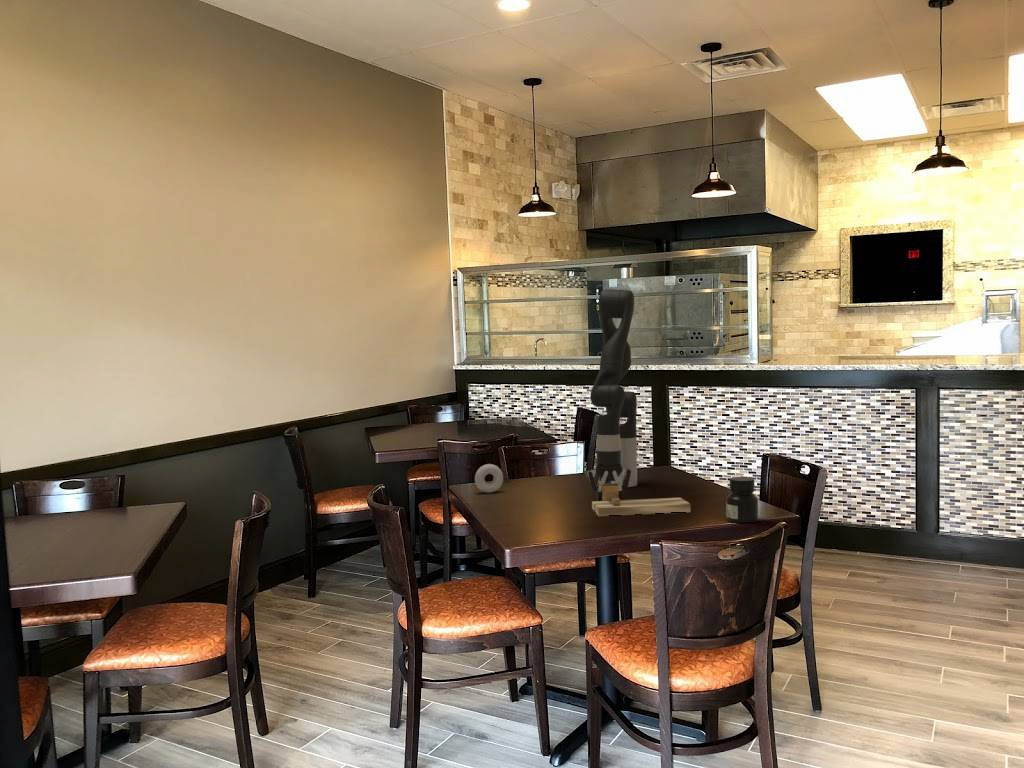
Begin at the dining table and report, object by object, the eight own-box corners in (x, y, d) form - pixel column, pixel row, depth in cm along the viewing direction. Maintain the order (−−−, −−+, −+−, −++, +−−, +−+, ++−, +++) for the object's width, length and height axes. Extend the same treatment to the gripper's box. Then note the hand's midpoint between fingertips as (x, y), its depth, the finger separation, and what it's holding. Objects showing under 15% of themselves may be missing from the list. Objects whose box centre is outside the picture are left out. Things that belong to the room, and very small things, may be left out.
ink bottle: (725, 516, 251) (724, 475, 250) (756, 516, 249) (756, 475, 249) (727, 523, 241) (727, 481, 240) (760, 524, 240) (759, 482, 239)
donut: (476, 494, 292) (475, 465, 291) (474, 492, 295) (473, 464, 294) (504, 492, 294) (504, 463, 294) (502, 490, 298) (501, 462, 297)
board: (592, 509, 264) (591, 501, 264) (680, 505, 267) (680, 497, 267) (598, 516, 254) (598, 508, 254) (690, 512, 257) (690, 503, 257)
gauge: (599, 505, 270) (599, 483, 269) (615, 504, 270) (614, 482, 270) (609, 514, 256) (608, 491, 256) (625, 513, 257) (625, 490, 256)
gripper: (628, 446, 270) (628, 499, 271) (583, 447, 269) (584, 501, 270) (634, 449, 263) (634, 504, 264) (588, 451, 261) (589, 506, 263)
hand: (609, 502), depth 267 cm, fingers closed on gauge, 5 cm apart
